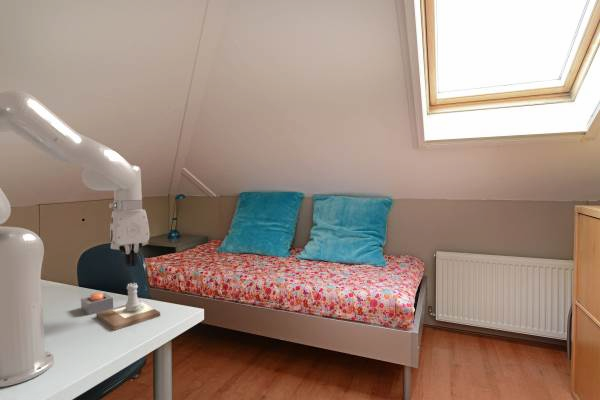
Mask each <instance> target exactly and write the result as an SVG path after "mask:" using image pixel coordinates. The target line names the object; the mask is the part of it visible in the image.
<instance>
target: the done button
mask: <svg viewBox="0 0 600 400" xmlns="http://www.w3.org/2000/svg"><path fill="white" fill-rule="evenodd" d="M103 293H104V292H95V293H91V294H90V296H89V297H90V301H91V302H93V301H97V300H101V299H103Z"/></svg>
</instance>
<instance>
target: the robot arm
mask: <svg viewBox="0 0 600 400" xmlns="http://www.w3.org/2000/svg"><path fill="white" fill-rule="evenodd" d="M2 132H3V133H5V132H12V133H15V134H16V135H17V136H19V137H20V138H22V139H23V140H25V141H26V142H28V143H29V144H31V145H32V146H34V147H35V148H36V149H38V150H39V151H40V152H42V153H43V154H45V155H46V156H47V157H49V158H51V159H53V160H55V161H59V162H61V163H65V164H69V165H74V166H79V167H83V168H84V170H83V171H82V174H81V179H82V182H83V184H84V185H85V186H86V187H87V188H89V189H91V190H93V191H102V192H103V191H105V192H106V191H113V198H114V199H113V201H112V203H109V204H108V205H109V206H108V207H109V209H113V210H114V211H113V210H112V212H111V218H110V225H109V227H110V228H109V231H110V232H109V238H110V239H109V240H110V249H111V250H118V251H121V253H123V254H124V264H125V266H126V267H128V268H129V267H130V268H132V267H137V262H138V257H137V256H138V252H139V250H140V249H141V248H142V247H143V246H146V245H148V244H149V240H150V227H149V220H148V215H147V211H146V209H143V193H142V172H141V171H142V170H141V167H140V166H138V165H133V164H132V165H131V163H129V162H128V161H127V160H126V159H125V158H124V157H123V156H122V155H121V154H119V152H117V151H115V150H113V149H112V148H111V147H108V146H106V145H104V144H103V143H100V142H97V141H96V140H94V139H92V138H90V137H88V136H85V135H83V134H81V133H79V132H77V131H76V130H75V129H73V128H72V127H71V126H70V125H69V124H67V123H66V122H65V121H64V120H62V118H60V117H59V116H58V115H56V114H55V113H54V112H53V111H51V109H49V108H48V107H47V106H45V105H44V104H43V103H42V102H41V101H40V100H39V99H37V98H36V97H34V96H33V95H32V94H30V93H28V92H25V91H22V90H6V91H0V133H2ZM11 212H12V208H11V203H10V201H9V199H8V198H7V196H6V194H5V193H4V191H3V189H2V188H1V187H0V388H4V387H9V386H14V385H16V384H21V383H23V382H27V381H29V380H31V379H33V378H36V377H38V376H39V375H42V374H43V373H45V372H46V371H47V370H49V369H50V368H51V367H52V365H53V364H54V362H55V361H54V360H55V356H54V354H53V353H51V352H48V351H46V349H45V336H44V335H45V334H44V317H43V316H44V315H43V302H42V301H43V300H42V298H43V297H42V287H41V286H42V285H41V282H42V281H41V278H42V277H41V276H42V275H41V274H42V265H43V261H44V255H45V248H44V242H43V240H42V239H41V237H40V236H39V235H38V234H37V233H36V232H34V231H32V230H30V229H27V228H25V227H24V228H23V227H17V226H1V225H3V224H5V222H7V221H8V219H9V218H10V216H11Z"/></svg>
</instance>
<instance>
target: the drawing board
mask: <svg viewBox="0 0 600 400" xmlns="http://www.w3.org/2000/svg"><path fill="white" fill-rule="evenodd" d="M139 302H140V303H141V305H140V306H141V308H140V309H139V310H137V311H134V312H127V311H126V310H125V308H126V307H125V305H126V304H125V305H121V306H118V307H113V308H112V309H109V310H105V311H101V312H98V313H95V314H96V315H95V316H96V318H97V319H98V320H100V321H101V322H102V323H104V324H105V325H106V326H108V327H109V328H110V329H112V330H113V331H119V330H121V329H123V328H127V327H130V326H134V325H136V324H139V323H144V322H146V321H149V320H152V319H155V317H156V318H158V317H161V312H160V311H159V310H157V309H156V308H154V307H152V306H150V305H148V304H146V303H145V302H143V301H140V300H139Z"/></svg>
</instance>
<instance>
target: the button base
mask: <svg viewBox="0 0 600 400" xmlns="http://www.w3.org/2000/svg"><path fill="white" fill-rule="evenodd" d="M102 293H103V299H101V300H97V301H93V302H91V301H90V296H87V297H82V298H80V305H81V306H80V307H81V310H82V311H83V312H84V313H86V314H87V315H88V316H89V315H90V316H91V315H93V314H96V313H99V312H102V311H106V310H110V309H113V308H114V297H112V296H110V295H109V294H107V293H105V292H102Z"/></svg>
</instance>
